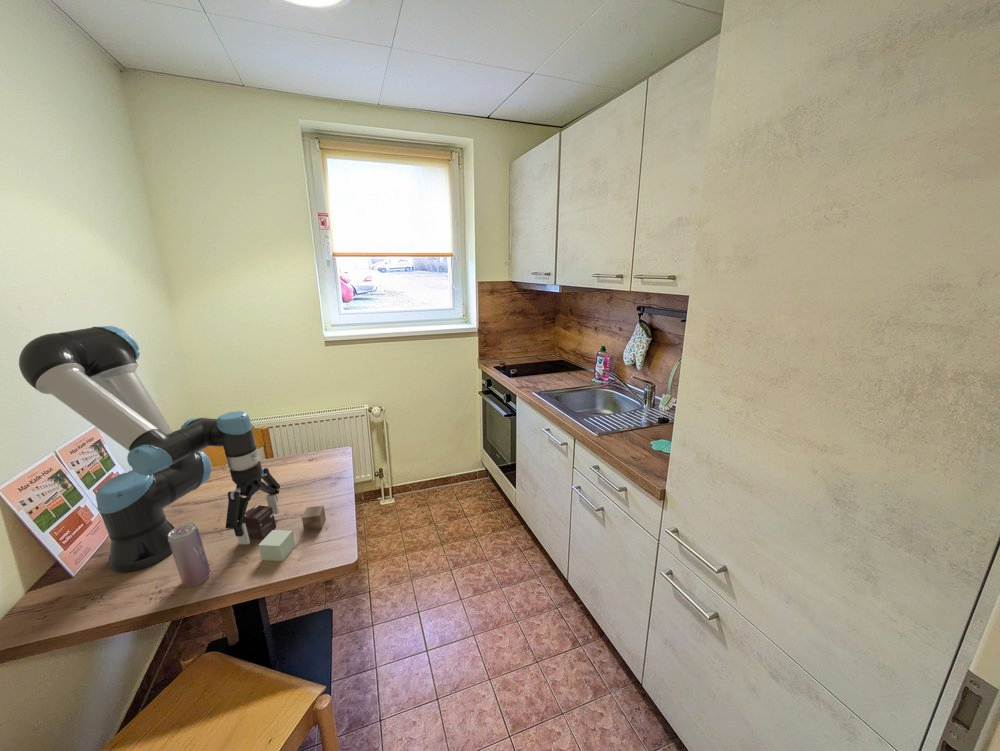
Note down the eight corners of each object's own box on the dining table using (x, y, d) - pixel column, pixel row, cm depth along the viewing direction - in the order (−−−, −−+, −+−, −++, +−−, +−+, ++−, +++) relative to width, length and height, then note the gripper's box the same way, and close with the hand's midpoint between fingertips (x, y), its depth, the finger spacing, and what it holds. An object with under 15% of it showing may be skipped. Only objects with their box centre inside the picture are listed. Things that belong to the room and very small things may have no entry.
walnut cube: (304, 531, 117) (301, 517, 116) (309, 521, 122) (306, 507, 121) (322, 529, 118) (319, 515, 117) (325, 519, 123) (323, 505, 121)
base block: (261, 560, 106) (258, 545, 105) (275, 544, 112) (272, 530, 111) (282, 561, 106) (279, 545, 104) (295, 545, 112) (292, 530, 110)
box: (261, 540, 114) (256, 519, 112) (244, 537, 115) (239, 516, 113) (277, 526, 120) (272, 506, 118) (260, 524, 121) (255, 504, 119)
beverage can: (193, 570, 103) (178, 523, 99) (216, 569, 104) (202, 521, 99) (176, 588, 98) (160, 539, 93) (201, 587, 98) (186, 537, 94)
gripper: (224, 490, 99) (243, 558, 105) (284, 444, 122) (296, 502, 129) (196, 489, 99) (217, 557, 105) (261, 444, 123) (275, 502, 129)
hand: (260, 527), depth 117 cm, fingers open, 13 cm apart
